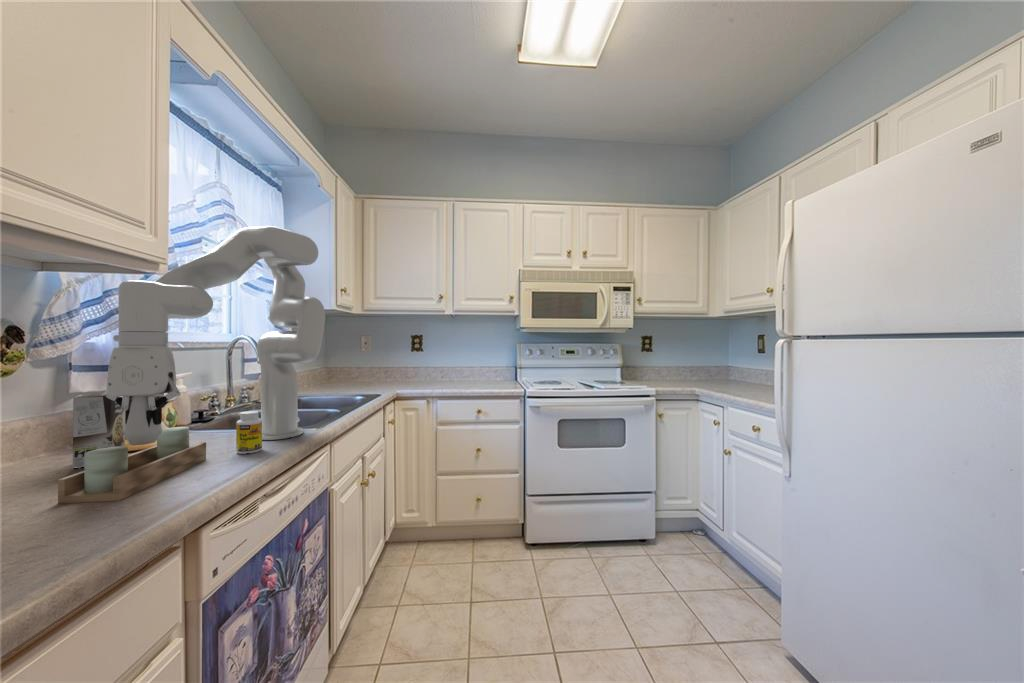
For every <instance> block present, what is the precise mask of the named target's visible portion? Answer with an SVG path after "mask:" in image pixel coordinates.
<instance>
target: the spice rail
mask: <svg viewBox="0 0 1024 683" xmlns="http://www.w3.org/2000/svg"><path fill="white" fill-rule="evenodd" d="M205 459H206V460H207V442H206V441H202V442H199V443H197V444H193V445H191V446H190V427H189V426H176V427H175V426H174V427H168V428H162V432H161V433H160V435H159V437H158V438H157V440H156V445H153V446H151V447H147V448H145V449H142V450H139V451H136V452H134V453H131V454H130V453H129V447H128V446H126V445H125V446H118V447H107V448H101V449H96V450H92V451H88V452H86V453H85V454H84V468H83V469H84V470H82V471H79V472H76V473H73V474H71V475H67V476H65V477H62V478H59V479H57V504H72V503H74V504H75V503H76V504H77V503H95V502H96V503H97V502H117V501H118V502H119V501H122V500H123V499H126V498H128V497H130V496H132V495H134V494H136V493H138V491H139V492H140V491H143V490H145V489H148V488H149V487H151V486H153V485H155V484H157V483H160V482H162V481H164V480H166V479H168V478H170V477H173V476H174V475H176V474H179V473H181V472H183V471H185V470H187V469H189V468H191V467H193V466H195V465H194V464H196V463H198V462H200V463H202V462H204V461H206V460H205ZM203 460H204V461H203ZM201 461H202V462H201ZM198 464H199V463H198ZM192 465H193V466H192ZM196 465H197V464H196ZM190 466H191V467H190ZM188 467H189V468H188ZM186 468H187V469H186ZM184 469H185V470H184ZM180 471H181V472H180Z"/></svg>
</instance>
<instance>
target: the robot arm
mask: <svg viewBox="0 0 1024 683" xmlns="http://www.w3.org/2000/svg"><path fill="white" fill-rule="evenodd" d="M318 258H319V247H318V246H317V244H316V242H315V241H314V240H313V239H312V238H310V237H309V236H306V235H304V234H300V233H297V232H294V231H291V230H289V229H285V228H281V227H277V226H273V225H272V226H271V225H265V226H249V227H243V228H240V229H237V230H236V231H235V232H233V233H232V234H231V235H229V236H228V237H227V238H226V239H224V240H223V241H222V242H220V244H218V245H217V246H215V247H214V248H213V249H211V250H210V251H209V252H207V253H206V254H204V255H201V256H199V257H196V258H195V259H192V260H190V261H188V262H186V263H184V264H181V265H180V266H179V265H178V266H177V267H175V268H173V269H171V270H168V271H167V272H165V273H164V274H163V275H161V276H160V277H158V278H157V279H156V280H154V281H147V280H124V281H122V282H121V283H119V286H118V327H117V328H118V334H116V335H114V336H113V337H112V338H113V339H112V340H113V341H114V342H117V344H118V347H117V346H116V347H113V349H112V351H111V354H110V358H109V362H108V363H109V364H108V370H107V376H106V391H107V392H108V393H107V394H106V397H107V398H109V399H111V400H113V401H116V402H117V403H118V404H119V405H120V406H121V409H122V410H123V411H125V425H126V424H127V420H128V416H129V412H130V411H129V409H130V404H131V400H132V396H148V403H149V409H150V410H147V411H146V419H147V422H148V426H150V422H151V419H153V423H154V424H155V425H159V424H161V425H162V422H163V420H162V419H163V412H162V411H163V409H164V408H165V407H166V405H168V403H170V402H171V401H172V400H174V399H177V398H179V397H180V396H181V392H180V391H179V389H178V387H177V373H176V372H177V371H176V364H175V358H174V354H173V350H172V347H171V346H169V320H170V319H172V320H173V319H179V320H184V319H185V320H186V319H187V320H188V319H190V320H193V319H200V318H203V317H204V316H207V315H208V314H209V313H210V312H211V311H212V309H213V306H214V300H213V297H212V295H211V294H210V293H209V292H208V291H207V290H208V289H211V288H215V287H220V286H224V285H227V284H229V283H232V282H233V283H234V282H236V281H238V280H239V279H241V277H243V275H244V274H246V273H247V272H248V271H249V270H250V269H251V268H252V267H253V266H254V265H256V263H258V262H259V261H260V260H263V262H264V263H265V264H266V265H267V267H268V269H269V270H270V272H271V273H272V277H273V290H272V296H271V300H270V306H269V315H268V317H269V318H268V319H269V321H270V323H272V325H274V326H276V327H279V328H287V329H288V328H293V329H295V328H297V330H274V331H269V332H266V333H264V334H263V335H261V336H260V337H259V339H258V340H257V345H256V349H257V356H258V360H259V365H260V376H261V377H260V419H262V441H275V440H276V441H277V440H283V439H289V438H290V437H291V438H295V437H298V436H300V435H302V434H303V433H304V428H302V427H299V426H298V423H299V422H300V421H301V419H300V417H299V415H298V412H299V411H298V396H299V395H298V393H299V392H298V389H299V388H298V386H299V385H298V382H299V379H298V378H299V376H298V372H297V370H296V368H295V366H294V364H302V363H303V364H305V363H311V362H314V361H315V360H316V359H317V358H318V356H319V354H320V351H321V347H322V341H323V337H324V336H323V335H324V328H325V322H326V310H325V307H324V305H323V303H322V301H321V300H320V299H318V298H317V297H314V296H305V294H306V293H305V291H306V281H305V279H304V277H303V275H302V273H301V272H300V271H299V269H298V268H297V266H299V267H300V266H310V265H312V264H315V262H316V261H317V259H318Z"/></svg>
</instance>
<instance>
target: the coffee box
mask: <svg viewBox="0 0 1024 683" xmlns="http://www.w3.org/2000/svg"><path fill="white" fill-rule="evenodd" d="M107 393H108V392H98V393H97V392H96V393H95V392H94V393H88V394H83V395H80V396H75V397H73V402H72V406H73V407H72V469H73V468H75V467H84V454H85V453H86V452H88V451H92V450H96V449H101V448H107V447H118V446H125V447H126V444H125V443H126V438H125V436H124V431H125V426H126V424H125V411H123V410H122V409H121V406H120V405H119V404H118V403H117V402H116V401H113V400H111V399H109V398H107V397H106V394H107Z"/></svg>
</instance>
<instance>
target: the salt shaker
mask: <svg viewBox="0 0 1024 683" xmlns="http://www.w3.org/2000/svg"><path fill="white" fill-rule="evenodd" d="M147 410H150V409H149V403H148V396H132V400H131V404H130V409H129V411H130V412H129V416H128V420H127V424H125V431H124V436H125V440H127V442H128V445H131V446H143V445H149V444H154V443H156V442H157V438H158V437H159V435H160V433H161V432H162V429H163V428H162V423H161V424H159V425H155V424H154V423H153V419H151V422H150V426H148V422H147V419H146V411H147Z"/></svg>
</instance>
